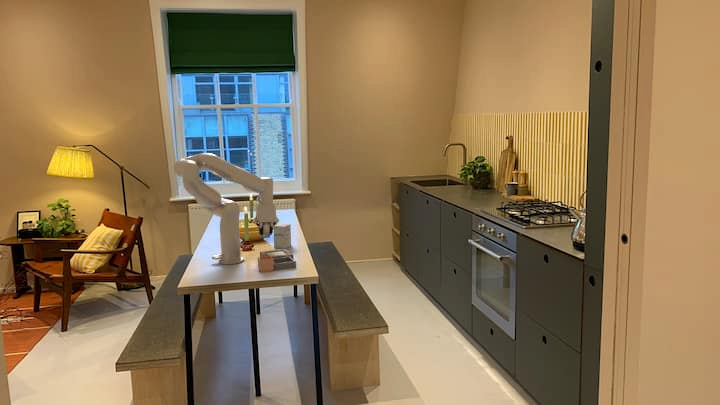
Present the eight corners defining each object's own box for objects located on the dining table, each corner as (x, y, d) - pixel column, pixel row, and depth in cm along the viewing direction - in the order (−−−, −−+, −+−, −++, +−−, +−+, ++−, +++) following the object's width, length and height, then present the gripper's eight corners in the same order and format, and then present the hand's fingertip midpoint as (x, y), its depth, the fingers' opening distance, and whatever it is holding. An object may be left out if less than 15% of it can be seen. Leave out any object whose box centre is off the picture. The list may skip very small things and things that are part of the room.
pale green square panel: (270, 259, 273) (270, 257, 273) (265, 255, 281) (265, 253, 281) (287, 256, 276) (287, 254, 276) (282, 252, 285) (282, 251, 284)
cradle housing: (266, 263, 270) (266, 257, 269) (260, 257, 283) (259, 251, 282) (293, 260, 275) (293, 254, 275) (285, 254, 288) (285, 248, 288)
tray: (274, 270, 258) (274, 264, 258) (269, 264, 268) (269, 259, 267) (296, 267, 262) (295, 261, 262) (289, 262, 272) (289, 256, 271)
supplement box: (273, 247, 303) (272, 225, 301) (280, 244, 309) (279, 223, 307) (285, 248, 300) (284, 226, 298) (291, 245, 307) (290, 223, 305)
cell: (262, 238, 284) (262, 221, 283) (260, 236, 288) (260, 220, 287) (271, 237, 286) (271, 221, 285) (269, 236, 290) (269, 220, 289)
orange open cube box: (261, 272, 255) (260, 260, 254) (257, 269, 260) (257, 257, 259) (274, 270, 257) (273, 258, 256) (270, 267, 263) (270, 255, 262)
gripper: (251, 202, 278) (251, 236, 280) (283, 201, 285) (283, 235, 287) (248, 200, 285) (248, 234, 287) (279, 199, 291) (279, 232, 294)
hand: (265, 234), depth 287 cm, fingers closed on cell, 4 cm apart
